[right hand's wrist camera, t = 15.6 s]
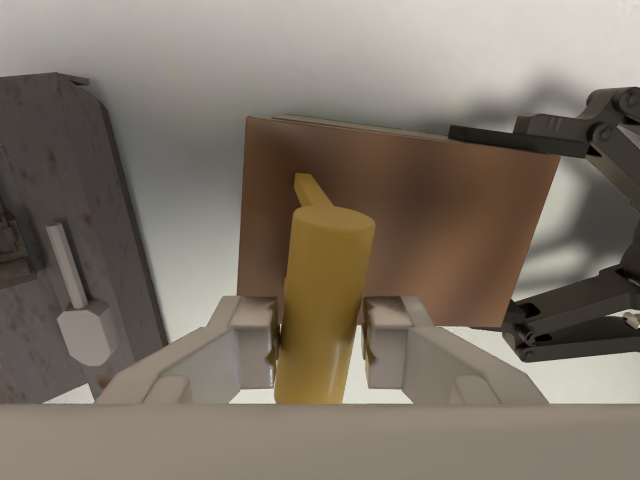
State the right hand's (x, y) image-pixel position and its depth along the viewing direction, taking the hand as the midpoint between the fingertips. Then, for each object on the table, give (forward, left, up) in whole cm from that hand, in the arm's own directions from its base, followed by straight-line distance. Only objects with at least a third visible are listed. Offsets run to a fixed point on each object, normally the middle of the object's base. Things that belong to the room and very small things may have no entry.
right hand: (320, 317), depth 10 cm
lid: (+3, -1, -8) cm, 9 cm away
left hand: (+7, -2, -12) cm, 14 cm away
